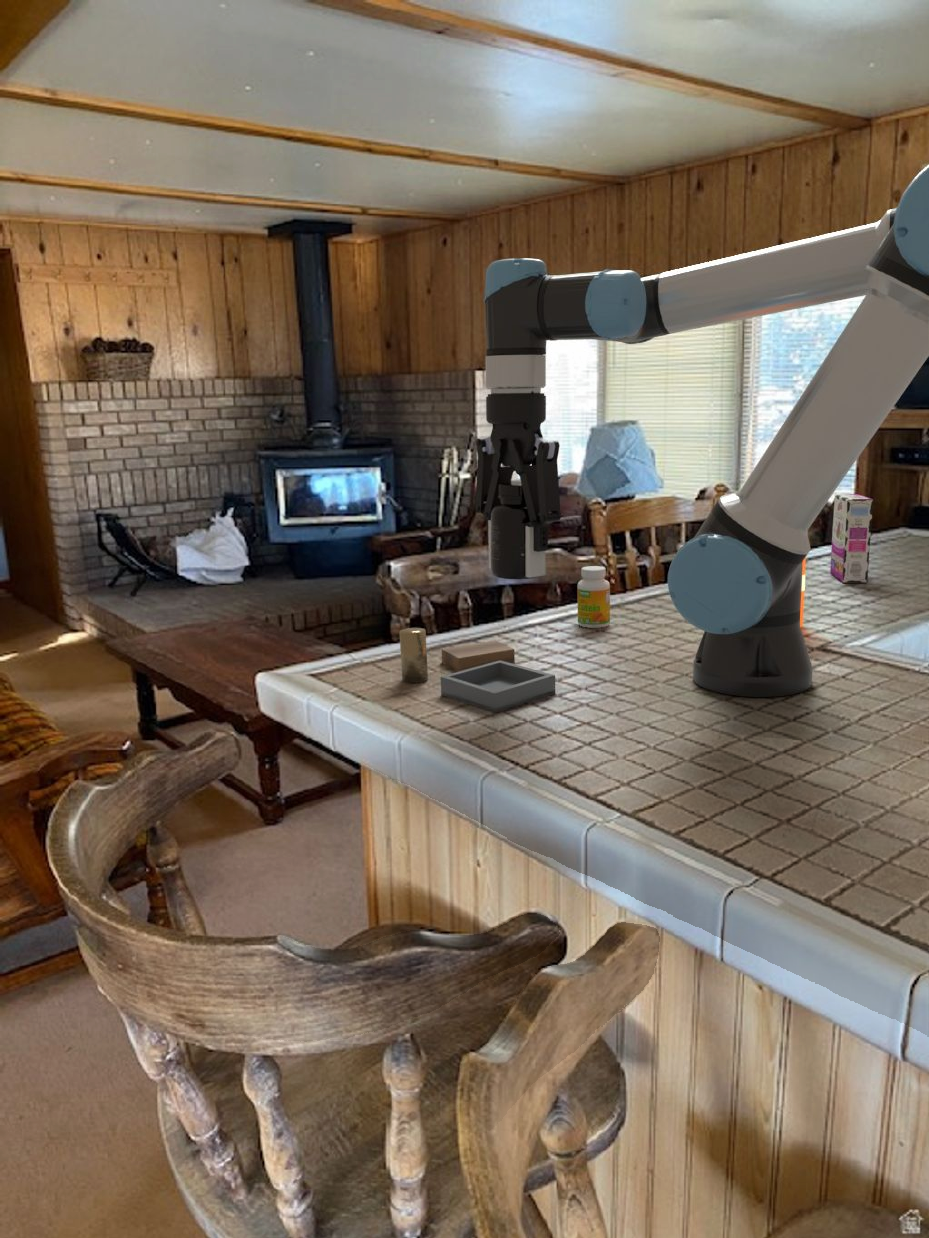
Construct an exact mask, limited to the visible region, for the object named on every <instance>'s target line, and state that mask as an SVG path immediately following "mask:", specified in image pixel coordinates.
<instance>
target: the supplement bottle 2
mask: <svg viewBox="0 0 929 1238" xmlns="http://www.w3.org/2000/svg"><path fill="white" fill-rule="evenodd" d="M606 571H607V570H606V567H604V566H598V565H591V566H590V565H589V566H588V565H587V566H583V567H581V573H580V574H581V578H582V579H581V580H579V581H578V583H577V586H576V587H577V591H576V592H577V625H578V626H579V625H580V626H579V627H581V626H582V628H585V627H587V628H586V629H600V628H601V627H602V628H607V627H608V626H610V623H611V585H610V582H609V581H608V580H606V579H605V577H606V574H607V573H606ZM602 628H601V629H602Z"/></svg>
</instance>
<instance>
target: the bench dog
mask: <svg viewBox="0 0 929 1238" xmlns="http://www.w3.org/2000/svg"><path fill="white" fill-rule="evenodd" d="M426 633H427V632H426V629H425V628H421V627H407V628H404V629H401V630H399V647H400V664H401V681H402V682H403V683H405V684H420V683H425V682H427V681H428V680H429V675H428V674H429V671H428V653H427V652H428V651H427V634H426Z"/></svg>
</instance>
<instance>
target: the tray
mask: <svg viewBox="0 0 929 1238" xmlns="http://www.w3.org/2000/svg"><path fill="white" fill-rule="evenodd" d="M440 690H441V691H440V693H441V696H444V697H447V698H450V699H453V700H455V701H457V702H458V701H459V702H462V703H464V704H465V703H466V704H468V705H471V706H474V707H477V708H480V709H482V710H486V711H489V712H492V713H498V712H502V711H505V710H508V709H511V708H514V707H518V706H521V705H523V704H527V703H530V702H533V701H536V700H540V699H542V698H545V697H549V696H551V695H554V694H556V675H555V674H552V673H549V672H545V671H542V670H538V669H534V668H531V667H526V666H523V665H518V664H517V663H516V664H515V663H508V662H505V661H501V660H499V661H496V662H492V663H489V664H485V665H481V666H478V667H474V668H470V669H467V670H463V671H459V672H458V671H456V672H453V673H449V674H446V675H441V676H440Z"/></svg>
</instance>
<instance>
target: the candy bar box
mask: <svg viewBox="0 0 929 1238" xmlns="http://www.w3.org/2000/svg"><path fill="white" fill-rule="evenodd" d="M833 504H834V505H833V517H832V518H833V519H832V536H831V537H832V538H831V549H830V550H831V552H830V567H829V568H830V569H829V570H830V572H829V574H830V575H832V577H834V578H836V579H837V580H838V581H840V582H841V583H843V584H867V583H868V581H869V580H868V579H869V565H870V564H869V563H870V551H871V538H872V537H871V535H872V524H873V523H872V521H873V509H874V499H873V498H870V497H867V496H864V495H861V494H858V493H857V494H855V493H845V494H844V493H842V494H841V493H840V494H839V493H838V494H837V493H836V494H834V501H833Z"/></svg>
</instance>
